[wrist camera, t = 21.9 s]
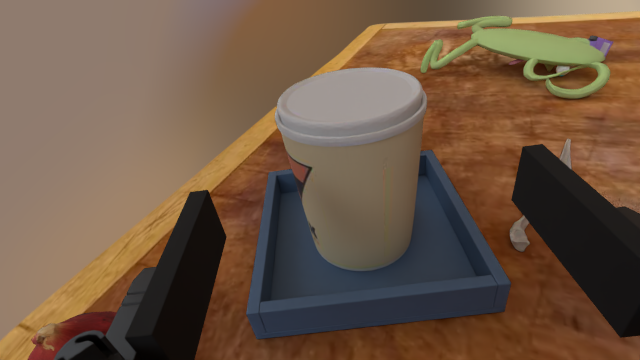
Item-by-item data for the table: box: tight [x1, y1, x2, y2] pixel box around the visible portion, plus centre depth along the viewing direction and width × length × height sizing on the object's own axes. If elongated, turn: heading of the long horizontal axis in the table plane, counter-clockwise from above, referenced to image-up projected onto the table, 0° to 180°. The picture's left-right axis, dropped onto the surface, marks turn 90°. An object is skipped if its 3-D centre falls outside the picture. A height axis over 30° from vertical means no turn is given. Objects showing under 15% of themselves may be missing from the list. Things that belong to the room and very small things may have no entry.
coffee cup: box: [275, 68, 427, 271], centre depth 25 cm, size 9×9×12 cm
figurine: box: [420, 16, 613, 99], centre depth 53 cm, size 18×27×6 cm
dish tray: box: [246, 150, 511, 339], centre depth 28 cm, size 16×16×3 cm
